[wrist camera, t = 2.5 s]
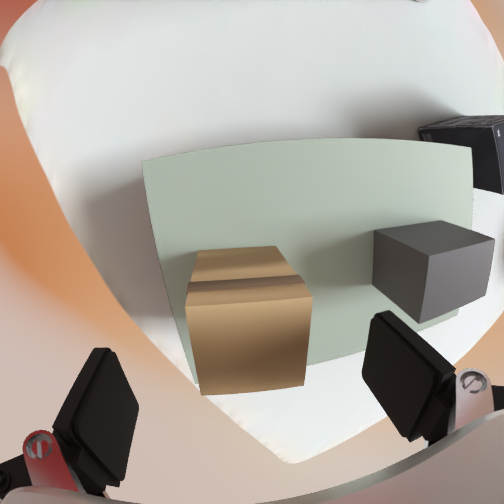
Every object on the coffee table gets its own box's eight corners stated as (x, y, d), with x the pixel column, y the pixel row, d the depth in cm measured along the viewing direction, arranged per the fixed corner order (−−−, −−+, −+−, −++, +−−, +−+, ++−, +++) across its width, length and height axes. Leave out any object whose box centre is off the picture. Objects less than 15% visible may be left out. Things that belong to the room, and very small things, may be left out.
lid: (148, 162, 13) (100, 158, 7) (458, 147, 15) (521, 151, 9) (196, 369, 18) (192, 442, 12) (447, 307, 19) (493, 342, 13)
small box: (430, 184, 24) (503, 199, 14) (415, 127, 22) (490, 122, 12) (477, 162, 24) (538, 171, 14) (465, 114, 22) (527, 112, 12)
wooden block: (196, 249, 14) (183, 305, 8) (276, 244, 14) (314, 294, 8) (204, 319, 15) (200, 396, 9) (276, 313, 15) (304, 385, 10)
